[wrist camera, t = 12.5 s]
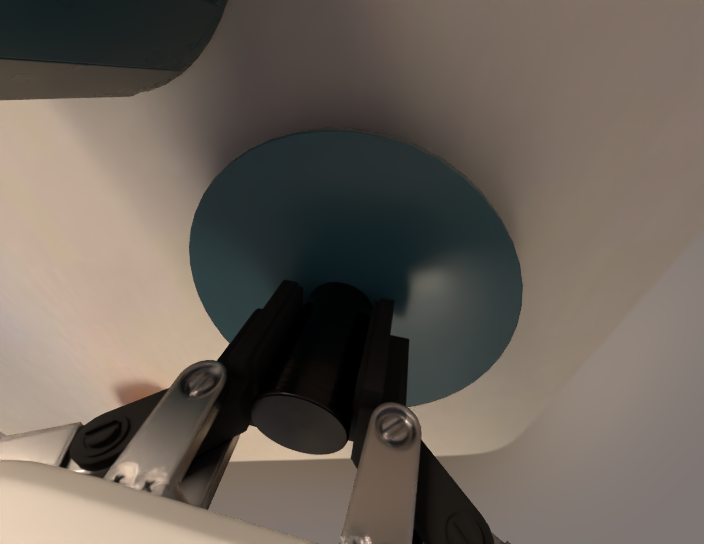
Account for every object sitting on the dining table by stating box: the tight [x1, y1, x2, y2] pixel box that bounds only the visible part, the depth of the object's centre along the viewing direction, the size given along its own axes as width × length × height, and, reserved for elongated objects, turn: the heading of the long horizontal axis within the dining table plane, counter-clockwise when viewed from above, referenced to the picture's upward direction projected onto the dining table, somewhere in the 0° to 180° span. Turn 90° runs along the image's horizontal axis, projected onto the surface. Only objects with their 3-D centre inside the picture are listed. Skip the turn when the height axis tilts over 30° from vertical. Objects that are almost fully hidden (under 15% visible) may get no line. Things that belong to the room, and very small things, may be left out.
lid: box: [189, 128, 523, 455], centre depth 10 cm, size 13×13×6 cm
